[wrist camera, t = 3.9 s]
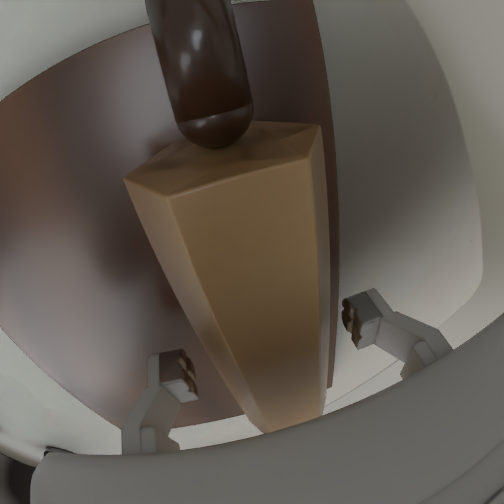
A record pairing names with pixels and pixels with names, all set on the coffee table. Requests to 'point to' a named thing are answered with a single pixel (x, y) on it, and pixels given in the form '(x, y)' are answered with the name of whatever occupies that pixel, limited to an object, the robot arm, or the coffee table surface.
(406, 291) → the coffee table surface
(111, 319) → the pastry board
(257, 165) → the rolling pin
